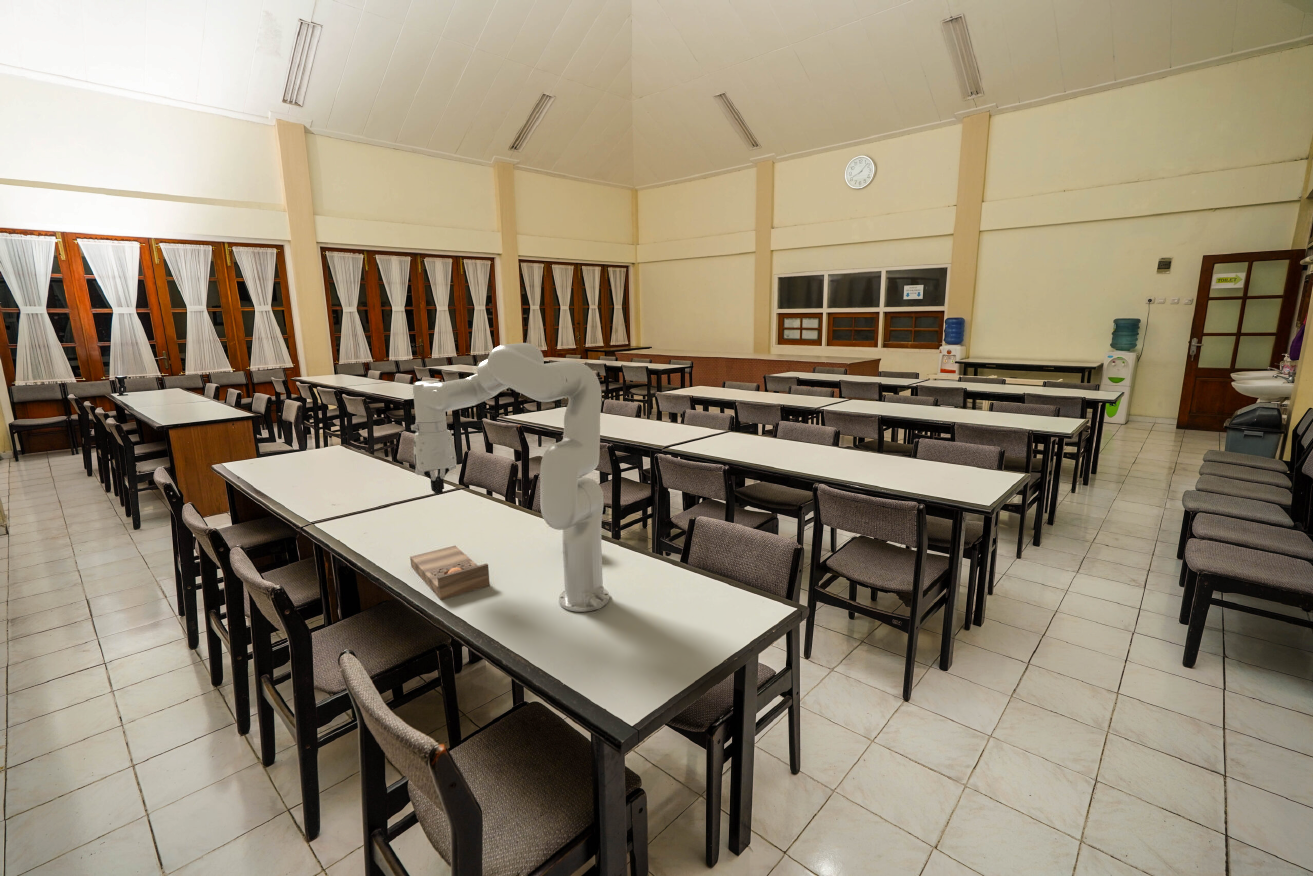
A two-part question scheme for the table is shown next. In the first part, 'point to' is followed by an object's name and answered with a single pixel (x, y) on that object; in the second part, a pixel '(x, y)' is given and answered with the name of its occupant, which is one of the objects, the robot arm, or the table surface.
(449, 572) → the ball
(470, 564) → the brown piece
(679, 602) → the table surface
